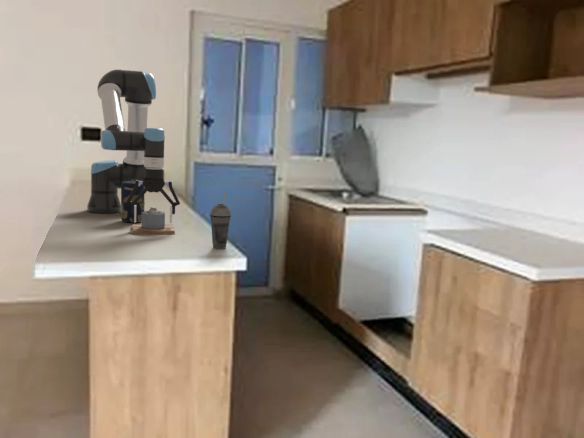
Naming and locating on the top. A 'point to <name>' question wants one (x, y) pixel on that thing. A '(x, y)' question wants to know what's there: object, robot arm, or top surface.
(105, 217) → the top surface
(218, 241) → the beverage cup
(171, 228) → the post block
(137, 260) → the top surface
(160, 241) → the top surface
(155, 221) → the ring
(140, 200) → the canister
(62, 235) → the top surface
